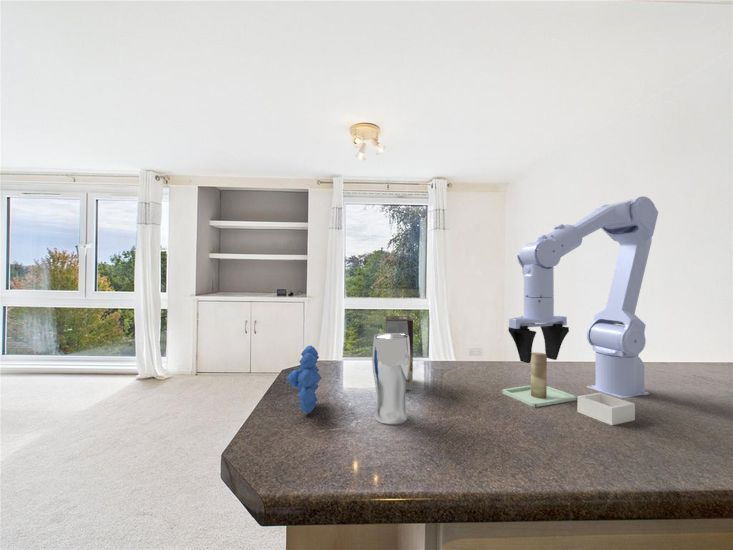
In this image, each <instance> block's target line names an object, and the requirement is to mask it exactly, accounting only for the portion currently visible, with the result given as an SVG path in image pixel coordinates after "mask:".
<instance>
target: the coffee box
mask: <svg viewBox="0 0 733 550" xmlns="http://www.w3.org/2000/svg"><path fill="white" fill-rule="evenodd" d="M384 325H385V329H384V330H385V332H384V333H400V334H406V335H408V336H409V343H410V371H409V377H408V383H407V389H406V391H412V390H413V382H414V381H413V380H414V379H413V370H414V368H413V367H414V366H413V365H414V364H413V363H414V359H413V357H414V356H413V355H414V352H413V351H414V320H413V319H412V318H411V316H407V315H406V316H403V315H402V316H401V315H393V316H391V315H390V316H389V315H388V316H387V315H386V316H385V324H384Z"/></svg>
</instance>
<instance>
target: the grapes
mask: <svg viewBox="0 0 733 550" xmlns="http://www.w3.org/2000/svg"><path fill="white" fill-rule="evenodd" d="M301 356H302V357H301V359H300V360H299V361H298V363H300V365H299V366H298V369H294V370H292V371H291V372H290V373H289V374H288V376H287V377H286V380H287V382H288V383H289V384H290V386H291V387H292V388H297V392H298V394H297V397H298V400H299V403H298V406H299V409H301V411H302V412H303V413H304V414H310V413H311V412H313V410H314V409H315V407H316V405H317V402H318V398H317V394H316V393H315V392H316V391H317V389H318V388H319V385H318V384H319V382H321V380H322V377H321V375H320V372H319V371H320V369H319V368H318V366H317V365H316V364H317V362H318V360H319V358H320V357H319V352H318V351H317V350H316V349H315V347H314V345H313V346H312V345H308V346H306V347H305V348H304V349H303V351H302V352H301Z"/></svg>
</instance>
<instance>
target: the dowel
mask: <svg viewBox="0 0 733 550" xmlns="http://www.w3.org/2000/svg"><path fill="white" fill-rule="evenodd" d="M547 359H548V358H547V354H546V353H543V352H536V351H535V352H533V351H532V355H531V362H530V385H531V396H533V397H535V398H541V399H544V398H547V386H548V385H547V381H548V380H547V379H548V377H547V375H548V374H547V372H548V369H547V368H548V364H547V362H548V360H547Z"/></svg>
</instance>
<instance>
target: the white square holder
mask: <svg viewBox="0 0 733 550" xmlns="http://www.w3.org/2000/svg"><path fill="white" fill-rule="evenodd" d="M576 396H577V400H576V401H577V407H576V408H577V413H579V414H582V415H584V416H587V417H590V418H592V419H595V420H597V421H600V422H602V423H605V424H607V425H609V426H615V425H619V424H621V425H622V424H624V423H630V422H633V421H636V404H635V403H634V402H632V401H631V402H630V401H628V400H624V399H623V398H620V397H616V396H615V397H614V396H613V395H610V394H607V393H604V392H596V393H595V392H593V393H589V394H583V395H576Z"/></svg>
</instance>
